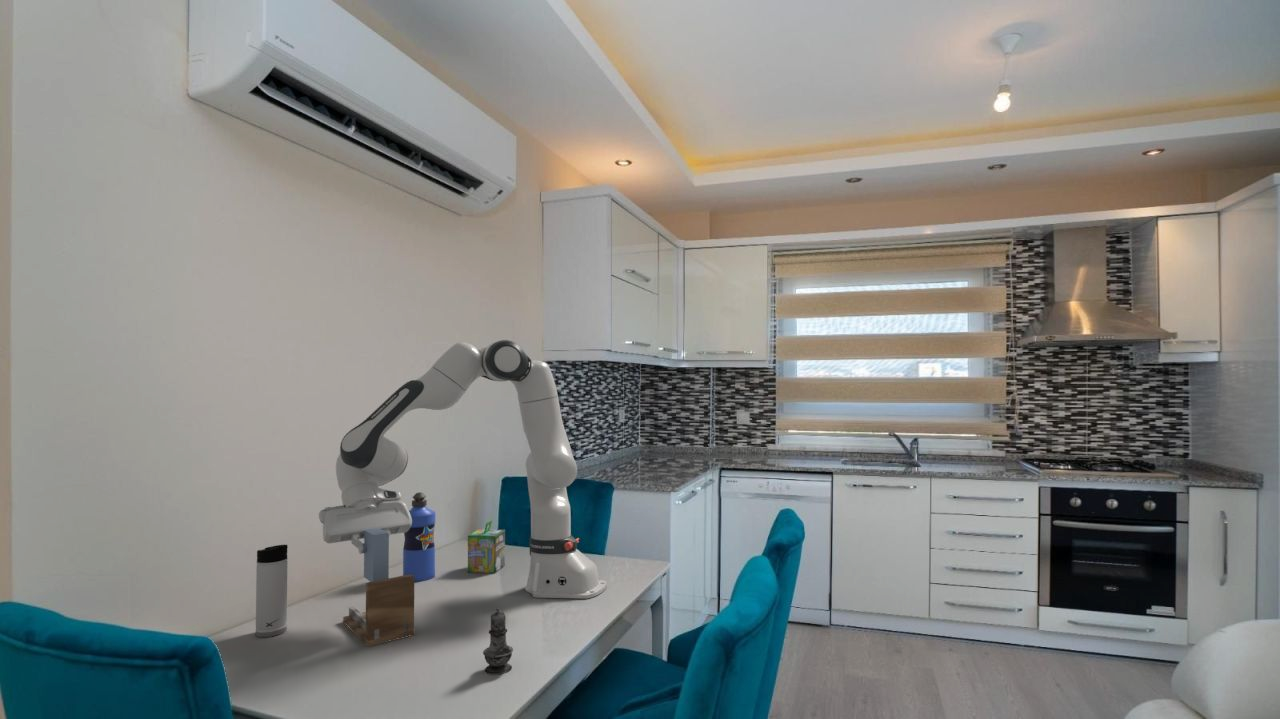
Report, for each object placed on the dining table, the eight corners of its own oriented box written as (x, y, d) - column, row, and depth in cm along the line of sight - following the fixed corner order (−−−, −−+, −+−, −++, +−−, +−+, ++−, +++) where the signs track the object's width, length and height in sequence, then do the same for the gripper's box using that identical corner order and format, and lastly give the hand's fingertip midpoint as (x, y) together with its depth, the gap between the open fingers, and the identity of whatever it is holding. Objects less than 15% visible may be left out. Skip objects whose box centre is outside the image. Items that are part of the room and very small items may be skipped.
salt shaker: (485, 663, 130) (485, 603, 130) (515, 662, 130) (514, 601, 131) (480, 676, 124) (480, 613, 124) (511, 674, 124) (511, 611, 125)
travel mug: (274, 638, 145) (275, 548, 146) (248, 637, 146) (250, 548, 147) (294, 628, 151) (295, 542, 152) (269, 627, 152) (271, 541, 153)
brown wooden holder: (343, 621, 155) (343, 566, 155) (385, 612, 161) (385, 559, 162) (368, 646, 139) (368, 584, 140) (414, 634, 146) (414, 575, 146)
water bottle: (442, 575, 193) (442, 491, 194) (416, 583, 185) (416, 496, 186) (421, 571, 198) (421, 489, 199) (395, 579, 190) (396, 494, 191)
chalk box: (478, 565, 204) (477, 518, 205) (505, 565, 203) (505, 518, 204) (466, 573, 195) (466, 524, 196) (495, 573, 194) (495, 524, 195)
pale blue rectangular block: (363, 576, 153) (364, 530, 154) (379, 574, 155) (379, 528, 156) (372, 583, 148) (373, 535, 148) (388, 580, 150) (388, 532, 150)
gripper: (319, 500, 153) (329, 549, 145) (406, 491, 166) (419, 536, 158) (315, 516, 156) (324, 565, 148) (400, 506, 169) (413, 551, 161)
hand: (374, 550), depth 153 cm, fingers closed on pale blue rectangular block, 3 cm apart
